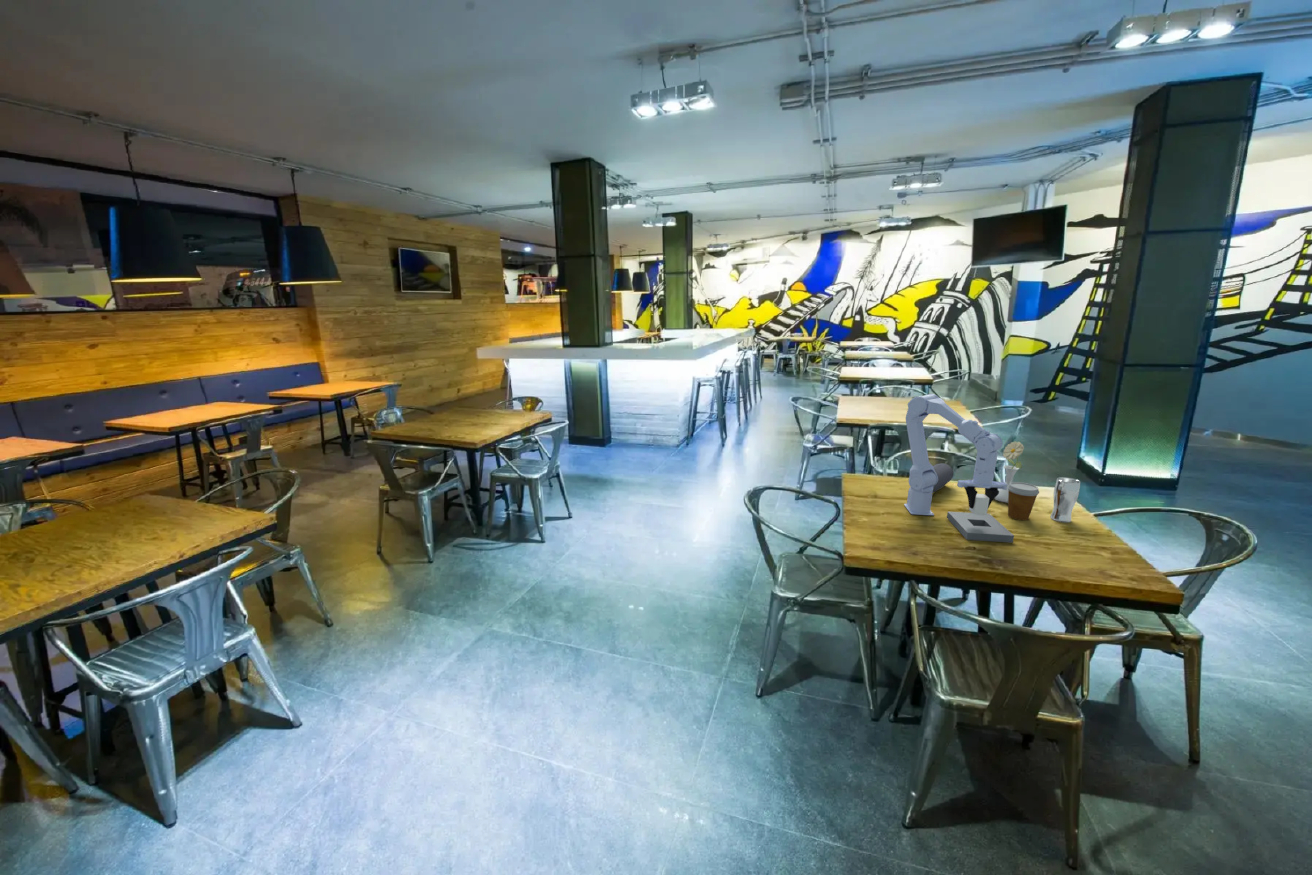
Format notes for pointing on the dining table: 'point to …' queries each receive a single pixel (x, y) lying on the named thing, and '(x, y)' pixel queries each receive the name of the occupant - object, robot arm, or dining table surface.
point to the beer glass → (1065, 498)
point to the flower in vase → (1010, 467)
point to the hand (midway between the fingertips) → (978, 507)
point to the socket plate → (980, 527)
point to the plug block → (980, 505)
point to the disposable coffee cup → (1021, 500)
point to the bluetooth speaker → (942, 475)
